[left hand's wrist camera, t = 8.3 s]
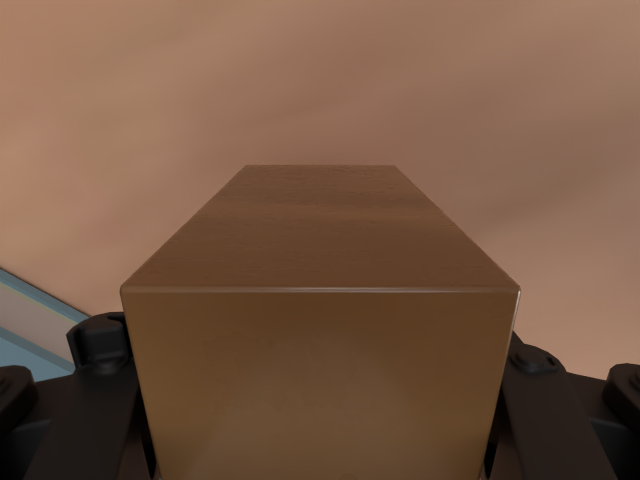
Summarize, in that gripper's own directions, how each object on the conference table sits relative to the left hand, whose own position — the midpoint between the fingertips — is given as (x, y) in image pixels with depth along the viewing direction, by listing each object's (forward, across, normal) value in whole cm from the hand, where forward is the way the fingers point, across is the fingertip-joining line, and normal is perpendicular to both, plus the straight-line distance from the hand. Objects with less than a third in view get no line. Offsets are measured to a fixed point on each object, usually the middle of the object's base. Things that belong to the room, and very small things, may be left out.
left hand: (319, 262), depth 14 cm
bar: (+1, 0, -8) cm, 8 cm away
